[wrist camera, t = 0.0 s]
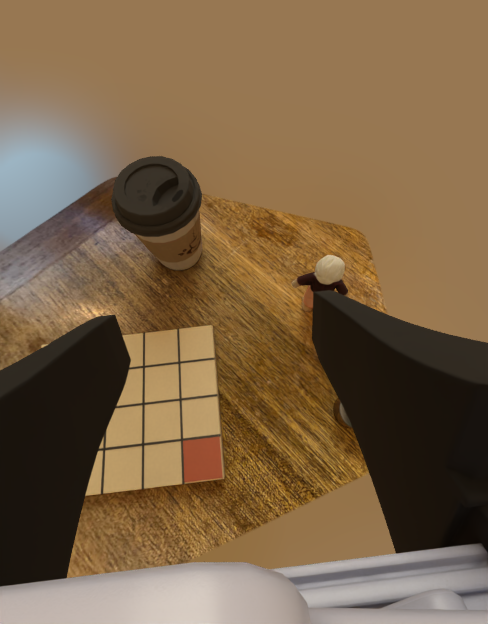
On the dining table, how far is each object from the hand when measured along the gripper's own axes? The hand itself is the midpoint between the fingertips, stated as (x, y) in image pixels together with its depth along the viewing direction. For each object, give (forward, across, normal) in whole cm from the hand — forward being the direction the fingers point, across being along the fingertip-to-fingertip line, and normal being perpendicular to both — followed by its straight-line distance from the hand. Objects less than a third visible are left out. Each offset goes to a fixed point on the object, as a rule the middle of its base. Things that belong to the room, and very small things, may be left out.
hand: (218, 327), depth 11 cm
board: (+21, +16, +24) cm, 36 cm away
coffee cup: (+39, +8, +8) cm, 41 cm away
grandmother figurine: (+30, -12, +16) cm, 36 cm away
